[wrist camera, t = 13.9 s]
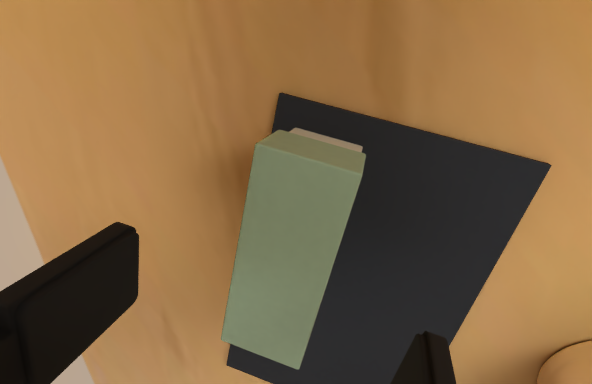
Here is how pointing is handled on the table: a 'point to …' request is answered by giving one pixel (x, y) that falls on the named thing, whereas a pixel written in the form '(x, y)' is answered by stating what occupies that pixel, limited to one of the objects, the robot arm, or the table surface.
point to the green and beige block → (289, 240)
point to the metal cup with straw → (568, 366)
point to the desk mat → (402, 244)
